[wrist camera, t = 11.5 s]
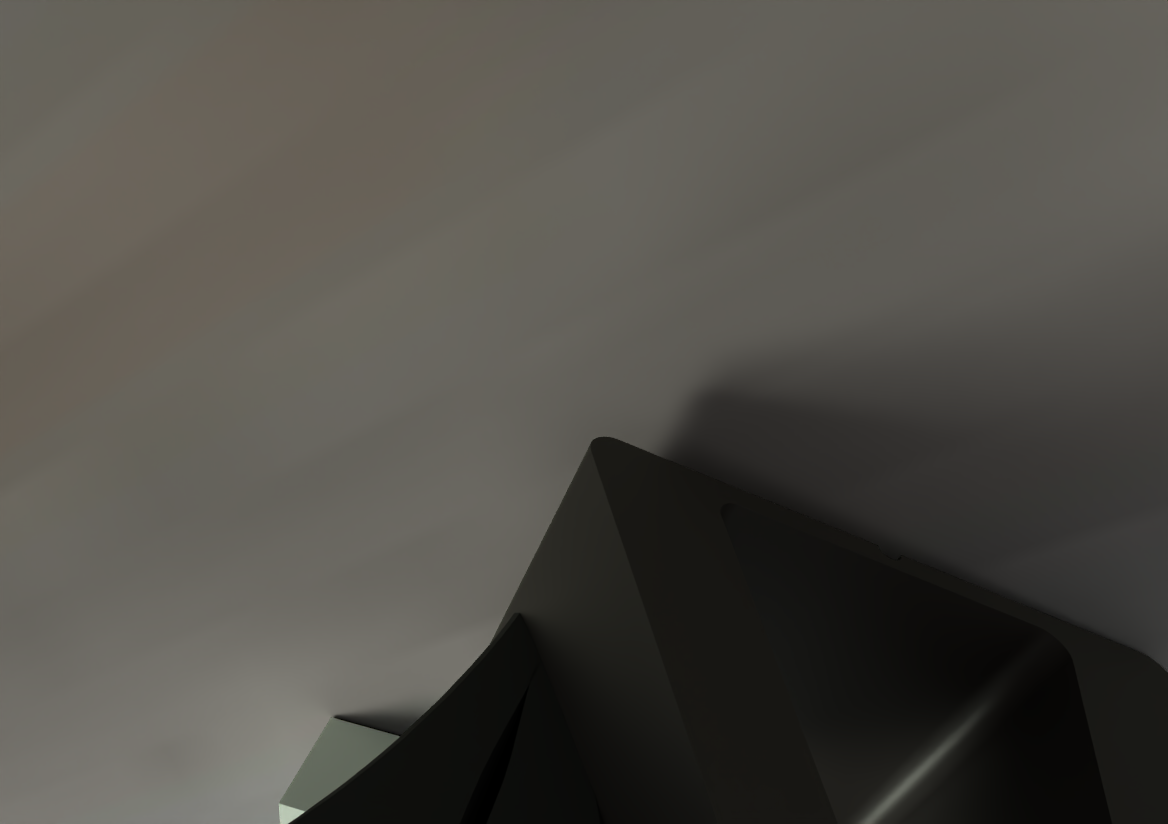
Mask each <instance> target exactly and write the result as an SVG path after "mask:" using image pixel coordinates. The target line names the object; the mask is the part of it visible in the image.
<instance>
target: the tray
mask: <svg viewBox="0 0 1168 824" xmlns="http://www.w3.org/2000/svg"><path fill="white" fill-rule="evenodd" d="M399 737H400V736H397V735H393V734H390V733H386V732H382V731H379V730H375V729H372V728H368V727H364V726H361V725H357V724H354V723H350V722H346V721H343V720H339V719H336V718H332V717H331V719H330V720H329V722H328V723H327V725H326V727H325V728H324V730H323V732H322V733H321V735H320V737H319V738H318V740H317V742H316V743H315V745H314V747H313V748H312V750H311V751H310V753H309V755H308V756H307V758H306V760H305V761H304V763H303V765H302V766H301V768H300V770H299V771H298V773H297V775H296V776H295V778H294V779H293V781H292V783H291V784H290V786H289V788H288V789H287V791H286V793H285V794H284V796H283V798H282V799H281V801H280V803H279V813H280V824H288V823H290V822H291V821H293V820H294V819H295V818H297V817H298V816H300V815H301V814H303V813H304V812H305V811H307V810H308V809H310V808H311V807H312V806H314V805H315V804H316V803H318V802H319V801H320V800H322V799H323V798H325V797H326V796H327V795H329V794H330V793H331V792H333V791H334V790H336V789H337V788H338V787H340V786H341V785H342V784H344V783H345V782H346V781H347V780H349V779H350V778H351V777H352V776H354V775H355V774H356V773H357V772H359V771H360V770H361V769H362V768H364V767H365V766H366V765H367V764H369V763H370V762H371V761H372V760H373V759H375V758H376V757H377V756H378V755H379V754H381V753H382V752H383V751H384V750H385V749H386V748H388V747H389V746H390V745H391V744H392V743H393V742H395V741H396V740H397V739H398V738H399Z"/></svg>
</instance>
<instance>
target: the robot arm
mask: <svg viewBox="0 0 1168 824" xmlns="http://www.w3.org/2000/svg"><path fill="white" fill-rule="evenodd" d="M288 824H604V823H603V820H602V816H601V813H600V810H599V806H598V803H597V799H596V796H595V793H594V791H593V788H592V786H591V783H590V781H589V778H588V776H587V773H586V771H585V768H584V766H583V763H582V761H581V758H580V755H579V753H578V750H577V748H576V745H575V743H574V740H573V738H572V735H571V732H570V730H569V727H568V725H567V722H566V719H565V717H564V714H563V712H562V709H561V707H560V704H559V702H558V699H557V696H556V694H555V691H554V689H553V686H552V684H551V681H550V679H549V676H548V674H547V671H546V669H545V667H544V664H543V662H542V659H541V657H540V654H539V652H538V650H537V647H536V645H535V643H534V641H533V639H532V636H531V634H530V632H529V630H528V628H527V626H526V624H525V622H524V620H523V618H522V616H521V614H520V613H514V614H513V615H512V617H511V618H510V620H509V621H508V622H507V624H506V625H505V626H504V628H503V629H502V630H501V631H500V633H499V634H498V635H497V636H496V638H495V639H494V640H493V641H492V642H491V644H490V645H489V646H488V647H487V648H486V650H485V651H484V652H483V653H482V654H481V655H480V656H479V658H478V659H477V660H476V661H475V662H474V663H473V664H472V666H471V667H470V668H469V669H468V670H467V671H466V672H465V673H464V674H463V675H462V676H461V677H460V678H459V679H458V680H457V681H456V682H455V684H454V685H453V686H452V687H451V688H450V689H449V690H448V691H447V692H446V693H445V694H444V695H443V696H442V697H441V698H440V699H439V700H438V701H437V702H436V703H435V704H434V705H433V706H432V707H431V708H430V709H429V710H428V711H427V712H426V713H425V714H424V715H422V716H421V717H420V718H419V719H418V720H417V721H416V722H415V723H414V724H413V725H412V726H411V727H410V728H409V729H408V730H406V731H405V732H404V733H403V734H402V735H401V736H400V737H399V738H398V739H397V740H396V741H395V742H393V743H392V744H391V745H390V746H389V747H388V748H386V749H385V750H384V751H383V752H382V753H381V754H379V755H378V756H377V757H376V758H375V759H373V760H372V761H371V762H370V763H369V764H367V765H366V766H365V767H364V768H362V769H361V770H360V771H359V772H357V773H356V774H355V775H354V776H352V777H351V778H350V779H349V780H347V781H346V782H345V783H344V784H342V785H341V786H340V787H338V788H337V789H336V790H334V791H333V792H331V793H330V794H329V795H327V796H326V797H325V798H323V799H322V800H320V801H319V802H318V803H316V804H315V805H314V806H312V807H311V808H310V809H308V810H307V811H305V812H304V813H303V814H301V815H300V816H298V817H297V818H295V819H294V820H293V821H291V822H290V823H288Z"/></svg>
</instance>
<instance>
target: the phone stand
mask: <svg viewBox="0 0 1168 824" xmlns="http://www.w3.org/2000/svg"><path fill="white" fill-rule="evenodd" d="M514 613H520V614H521V616H522V618H523V620H524V622H525V624H526V626H527V628H528V630H529V632H530V634H531V636H532V639H533V641H534V643H535V645H536V647H537V650H538V652H539V654H540V657H541V659H542V662H543V664H544V667H545V669H546V671H547V674H548V676H549V679H550V681H551V684H552V686H553V689H554V691H555V694H556V696H557V699H558V702H559V704H560V707H561V709H562V712H563V714H564V717H565V719H566V722H567V725H568V727H569V730H570V732H571V735H572V738H573V740H574V743H575V745H576V748H577V750H578V753H579V755H580V758H581V761H582V763H583V766H584V768H585V771H586V773H587V776H588V778H589V781H590V783H591V786H592V788H593V791H594V793H595V796H596V799H597V803H598V806H599V810H600V813H601V816H602V820H603V823H604V824H1168V672H1167V671H1166V670H1165V669H1164V668H1162V667H1161V666H1160V665H1159V664H1158V663H1156V662H1155V661H1154V660H1152V659H1151V658H1149V657H1148V656H1146V655H1144V654H1142V653H1140V652H1137V651H1135V650H1132V649H1130V648H1127V647H1125V646H1122V645H1120V644H1118V643H1115V642H1113V641H1110V640H1108V639H1105V638H1103V637H1100V636H1098V635H1096V634H1093V633H1091V632H1088V631H1086V630H1083V629H1081V628H1078V627H1076V626H1073V625H1071V624H1069V623H1066V622H1064V621H1061V620H1059V619H1056V618H1054V617H1051V616H1049V615H1047V614H1044V613H1042V612H1039V611H1037V610H1034V609H1032V608H1029V607H1027V606H1024V605H1022V604H1020V603H1017V602H1015V601H1012V600H1010V599H1007V598H1005V597H1002V596H1000V595H998V594H995V593H993V592H990V591H988V590H985V589H983V588H980V587H978V586H975V585H973V584H971V583H968V582H966V581H963V580H961V579H958V578H956V577H953V576H951V575H948V574H946V573H944V572H941V571H939V570H936V569H934V568H931V567H929V566H926V565H924V564H922V563H919V562H917V561H914V560H912V559H909V558H907V557H904V556H902V555H901V556H900V557H899V559H898V560H893V559H891V558H889V557H887V556H886V555H884V554H883V553H882V552H881V551H880V549H879V548H878V546H877V545H875V544H873V543H870V542H868V541H865V540H863V539H860V538H858V537H855V536H853V535H850V534H848V533H846V532H843V531H841V530H838V529H836V528H833V527H831V526H828V525H826V524H824V523H821V522H819V521H816V520H814V519H811V518H809V517H806V516H804V515H801V514H799V513H797V512H794V511H792V510H789V509H787V508H784V507H782V506H779V505H777V504H775V503H772V502H770V501H767V500H765V499H762V498H760V497H757V496H755V495H752V494H750V493H748V492H745V491H743V490H740V489H738V488H735V487H733V486H730V485H728V484H726V483H723V482H721V481H718V480H716V479H713V478H711V477H708V476H706V475H703V474H701V473H699V472H696V471H694V470H691V469H689V468H686V467H684V466H681V465H679V464H677V463H674V462H672V461H669V460H667V459H664V458H662V457H659V456H657V455H654V454H652V453H650V452H647V451H645V450H642V449H640V448H637V447H635V446H632V445H630V444H628V443H625V442H623V441H620V440H618V439H615V438H611V437H598V438H596V439H594V440H593V441H592V442H591V444H590V446H589V448H588V450H587V452H586V454H585V456H584V458H583V460H582V462H581V464H580V466H579V468H578V470H577V472H576V474H575V476H574V478H573V480H572V482H571V484H570V486H569V488H568V490H567V492H566V494H565V496H564V498H563V500H562V502H561V504H560V506H559V508H558V510H557V512H556V514H555V516H554V518H553V520H552V522H551V524H550V526H549V528H548V530H547V532H546V534H545V536H544V538H543V540H542V542H541V544H540V546H539V548H538V550H537V552H536V554H535V556H534V558H533V560H532V562H531V564H530V566H529V568H528V570H527V572H526V574H525V576H524V578H523V580H522V582H521V584H520V586H519V588H518V590H517V592H516V594H515V596H514V598H513V600H512V602H511V604H510V606H509V608H508V610H507V612H506V614H505V616H504V618H503V620H502V622H501V624H500V625H499V627H498V629H497V631H496V633H495V635H494V637H493V639H492V641H493V640H494V639H495V638H496V636H497V635H498V634H499V633H500V631H501V630H502V629H503V628H504V626H505V625H506V624H507V622H508V621H509V620H510V618H511V617H512V615H513V614H514ZM492 641H491V642H492ZM490 644H491V643H490Z"/></svg>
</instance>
